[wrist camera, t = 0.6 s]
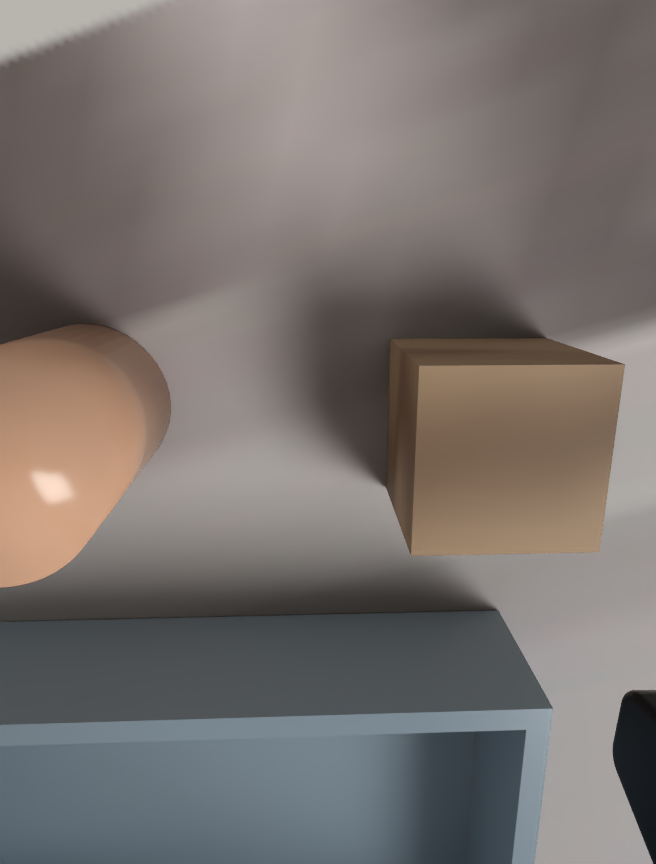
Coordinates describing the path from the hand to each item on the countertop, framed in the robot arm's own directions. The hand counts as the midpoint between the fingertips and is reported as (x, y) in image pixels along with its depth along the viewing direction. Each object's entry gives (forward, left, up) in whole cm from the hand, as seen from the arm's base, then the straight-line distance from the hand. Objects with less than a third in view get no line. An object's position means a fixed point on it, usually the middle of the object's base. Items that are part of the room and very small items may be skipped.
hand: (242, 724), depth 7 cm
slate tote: (-14, +2, -13) cm, 19 cm away
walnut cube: (0, -6, -14) cm, 15 cm away
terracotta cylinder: (+1, +6, -13) cm, 15 cm away
